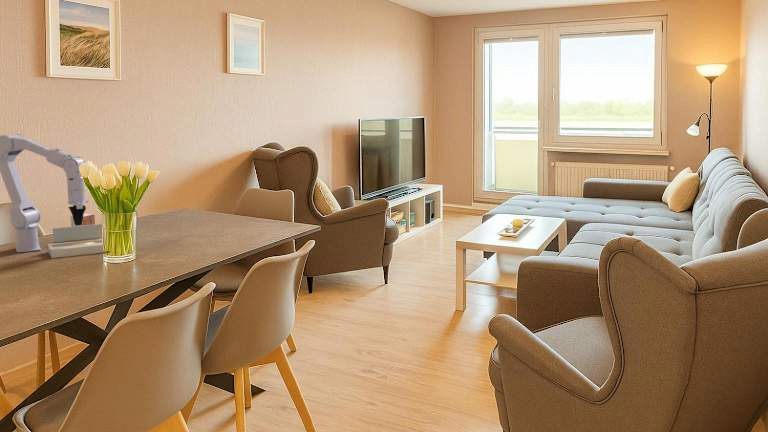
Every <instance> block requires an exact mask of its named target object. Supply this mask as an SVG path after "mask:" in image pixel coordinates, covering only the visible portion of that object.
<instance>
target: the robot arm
mask: <svg viewBox="0 0 768 432" xmlns="http://www.w3.org/2000/svg"><path fill="white" fill-rule="evenodd" d="M24 150H27V151H29V152H31V153H34V154H36V155H39V156H41V157H43V158H45V159H46V162H48V163H49V164H52V165H54V166H56V167H59V168H61V169H63V171H64V173H65V177H66V185H67V186H66V187H67V204H68V205H72V206H68V209H69V211H70V213H71V215H72V216H73V219H74V223H75V225H76V226H77V225H82V220H83V214H85V211H86V208H87V206H86V205H84V204H87V203H90V202H89V200H87V199H86V195H85V194H86V193H85V190H86V189H85V179H83V177H82V176H81V174H80V171H79V166H80V165H81V164H82V163H86V161H85V159H83V158H82V157H81V156H74V155H73V154H71V153H67V152H65V151H62V149H61V148H59V147H57V148H55V147H54V148H51V149H50V148H48V147H46V146H44V145H42V144H40V143H39V142H37V141H35V140H33V139H31V138H29V137H28V136H27V135H26V136H25V135H23V134H20V133H16V134H8V135H7V134H1V135H0V175H1V178H2V181H3V183H4V185H5V188H6V190H7V194H8V197H9V198H10V201H11V204H12V205H11V207H10V208H9V213H10V222H11V225H12V226H13V227H14V229H15V235H16V246H15V250H16V252H17V253H26V252H28V253H29V252H37V251H41V250H42V248H41V246H40V244H39V243H40V242H39V231H38V225H39V222H40V220H41V218H42V216H41V213H40V211H39V210H38V209H37V208H36V206H35V204H34V203H33V202H32V201H30V200H29V199H28V196H27V193H26V190H25V188H24V185H23V182H22V179H21V177H20V174H19V172H18V169H17V166H16V164H15V160H16V158H17V157H18V155H20V154H21V153H22V152H23V151H24Z"/></svg>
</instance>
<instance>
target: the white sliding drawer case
mask: <svg viewBox="0 0 768 432" xmlns="http://www.w3.org/2000/svg"><path fill="white" fill-rule="evenodd" d="M102 239H103V238H100V239H97V240H88V241H77V242H65V243H55V244H53V243H50V244H48V243H47V252H48V254H49V256H50V258H52V259H55V258H65V257H72V256H73V257H74V256H84V255H85V256H86V255H93V254H104V253H103V244H102ZM86 242H95V243H92V244H82V245H72V246H68V244H76V243H86Z"/></svg>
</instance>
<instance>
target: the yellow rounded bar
mask: <svg viewBox="0 0 768 432" xmlns="http://www.w3.org/2000/svg"><path fill="white" fill-rule="evenodd" d="M92 243H95V242H86V243H76V244H68V246H72V245H82V244H92Z"/></svg>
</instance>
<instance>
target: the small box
mask: <svg viewBox="0 0 768 432" xmlns="http://www.w3.org/2000/svg"><path fill="white" fill-rule="evenodd" d="M95 217H96V216H95V213H84V214H83V220H82V225H77V226H86V225H96V219H95ZM74 226H76V225H75V223H74V219H73V216H70V227H74ZM86 241H88V240H86ZM76 242H77V241H76Z"/></svg>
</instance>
